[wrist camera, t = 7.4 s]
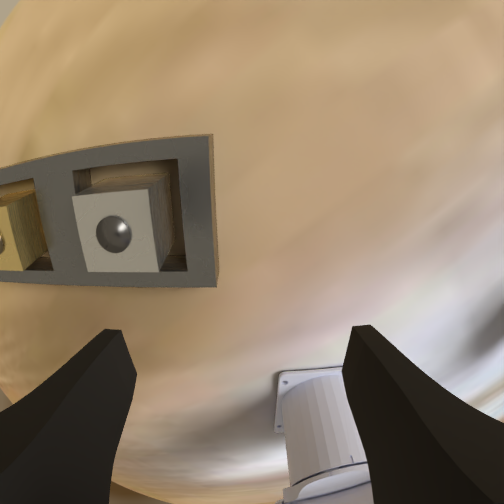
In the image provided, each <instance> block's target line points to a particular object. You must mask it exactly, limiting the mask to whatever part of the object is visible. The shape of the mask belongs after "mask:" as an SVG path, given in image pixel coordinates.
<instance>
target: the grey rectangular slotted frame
mask: <svg viewBox="0 0 504 504" xmlns="http://www.w3.org/2000/svg"><path fill="white" fill-rule="evenodd" d="M165 159H178V170H179V185H180V198H181V210H182V222H183V232H184V242H185V251H186V255H183V256H167V257H166V259H165V261H164V263H163V265H162V267H161V269H160V271H159V272H88V270H87V266H86V262H85V258H84V254H83V250H82V246H81V241H80V237H79V232H78V227H77V222H76V217H75V212H74V206H73V200H72V196H74V195H75V194H77V193H79V192H81V191H83V190H84V189H86V188H88V187H90V186H92V185H91V177H90V169H89V168H93V167H100V166H107V165H115V164H124V163H133V162H142V161H153V160H165ZM30 178H33V179H34V185H35V191H36V197H37V203H38V208H39V213H40V218H41V222H42V227H43V231H44V235H45V239H46V243H47V247H48V251H49V255H50V257H39V258H37V259H36V260H35V261H34V262H33V263H32V264H31V265H30V266H28V267H27V268H26V269H25V270H24V271H7V270H0V281H1V282H17V283H34V284H55V285H80V286H114V287H217V281H218V275H219V258H218V241H217V223H216V202H215V179H214V151H213V134H202V135H187V136H174V137H163V138H153V139H144V140H135V141H127V142H120V143H113V144H107V145H100V146H94V147H89V148H83V149H78V150H72V151H67V152H62V153H58V154H53V155H49V156H44V157H40V158H36V159H32V160H28V161H24V162H20V163H16V164H13V165H9V166H6V167H2V168H0V185H3V184H7V183H11V182H16V181H20V180H25V179H30Z"/></svg>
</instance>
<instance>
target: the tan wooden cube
mask: <svg viewBox="0 0 504 504" xmlns="http://www.w3.org/2000/svg"><path fill="white" fill-rule="evenodd" d="M47 250H48V247H47V243H46V239H45V235H44V231H43V227H42V222H41V218H40V213H39V208H38V203H37V197H36V191H35V189H32V190H26V191H21V192H16V193H11V194H6V195H4V196H2V197H0V270H7V271H24V270H25V269H26V268H27V267H28V266H30V265H31V264H32V263H33V262H34V261H35V260H36V259H37V258H39V257H40V256H41V255H42V254H43V253H44V252H46V251H47Z"/></svg>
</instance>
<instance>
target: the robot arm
mask: <svg viewBox="0 0 504 504" xmlns="http://www.w3.org/2000/svg"><path fill="white" fill-rule="evenodd" d="M136 377H137V372H136V370H135V367H134V365H133V362H132V359H131V357H130V354H129V351H128V348H127V346H126V343H125V340H124V337H123V334H122V331H121V330H112V329H104V330H103V331H102V332H101V333H99V334H98V335H97V336H96V337H95V338H93V339H92V340H91V341H90V342H89V343H88V344H87V345H86V346H84V347H83V348H82V349H81V350H80V351H79V352H78V353H77V354H76V355H74V356H73V357H72V358H71V359H70V360H69V361H68V362H67V363H65V364H64V365H63V366H62V367H61V368H60V369H59V370H57V371H56V372H55V373H54V374H53V375H51V376H50V377H49V378H48V379H47V380H45V381H44V382H43V383H42V384H41V385H39V386H38V387H37V388H36V389H34V390H33V391H32V392H30V393H29V394H28V395H26V396H25V397H24V398H22V399H21V400H19V401H18V402H16V403H15V404H13V405H12V406H10V407H9V408H7V409H5V410H3V411H2V412H0V504H109V493H110V484H111V476H112V469H113V463H114V459H115V454H116V451H117V447H118V444H119V441H120V438H121V434H122V431H123V428H124V425H125V422H126V418H127V415H128V412H129V409H130V406H131V402H132V399H133V393H134V388H135V383H136ZM274 432H275V433H285V442H286V451H287V461H288V470H289V479H290V487H288V488H284V489H283V498H284V499H281V500H278V501H277V502H276V503H275V504H504V423H502V422H500V421H498V420H496V419H494V418H492V417H490V416H488V415H486V414H484V413H482V412H480V411H479V410H477V409H475V408H473V407H472V406H470V405H468V404H467V403H465V402H464V401H462V400H461V399H459V398H458V397H456V396H455V395H453V394H452V393H450V392H449V391H447V390H446V389H445V388H443V387H442V386H441V385H439V384H438V383H437V382H435V381H434V380H433V379H432V378H430V377H429V376H428V375H427V374H425V373H424V372H423V371H422V370H421V369H419V368H418V367H417V366H416V365H415V364H414V363H412V362H411V361H410V360H409V359H408V358H407V357H406V356H405V355H403V354H402V353H401V352H400V351H399V350H398V349H397V348H396V347H395V346H394V345H392V344H391V343H390V342H389V341H388V340H387V339H386V338H385V337H384V336H383V335H382V334H380V333H379V332H378V331H377V330H376V329H375V328H374V327H372V326H371V325H362V326H352V331H351V335H350V339H349V343H348V347H347V352H346V356H345V359H344V363H343V367H337V368H327V369H316V370H303V371H287V372H282V373H280V374H279V378H278V390H277V401H276V412H275V422H274Z"/></svg>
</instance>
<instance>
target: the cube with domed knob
mask: <svg viewBox="0 0 504 504" xmlns="http://www.w3.org/2000/svg"><path fill="white" fill-rule="evenodd" d="M72 200H73V206H74V212H75V217H76V222H77V227H78V232H79V237H80V241H81V246H82V250H83V254H84V258H85V262H86V266H87V270H88V272H159V271H160V269H161V267H162V265H163V263H164V261H165V259H166V257H167V255H168V253H169V251H170V249H171V248H172V246H173V244H174V242H175V231H174V221H173V211H172V200H171V189H170V176H169V173H158V174H146V175H134V176H124V177H115V178H106V179H103V180H101V181H100V182H98V183H96V184H94V185H92V186H90V187H88V188H86V189H84V190H83V191H81V192H79V193H77V194H75V195H74V196H72Z"/></svg>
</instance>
